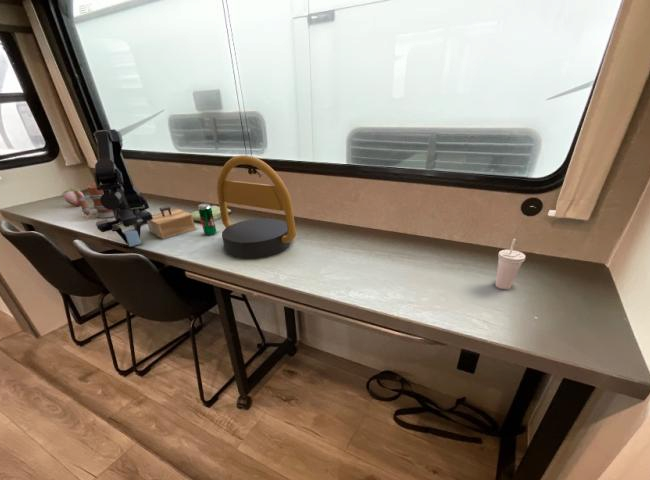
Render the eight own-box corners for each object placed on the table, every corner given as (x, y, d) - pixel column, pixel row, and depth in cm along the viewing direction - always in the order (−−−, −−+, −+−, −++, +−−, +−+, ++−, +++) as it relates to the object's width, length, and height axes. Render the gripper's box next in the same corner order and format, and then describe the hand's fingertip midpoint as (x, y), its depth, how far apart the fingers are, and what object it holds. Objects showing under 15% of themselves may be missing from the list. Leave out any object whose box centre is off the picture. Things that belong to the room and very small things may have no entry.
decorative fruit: (85, 202, 191) (78, 185, 185) (89, 205, 185) (81, 187, 180) (67, 206, 186) (58, 188, 180) (69, 209, 180) (61, 190, 175)
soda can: (213, 236, 136) (206, 207, 129) (202, 235, 137) (194, 206, 130) (218, 231, 140) (212, 203, 134) (208, 231, 141) (201, 203, 135)
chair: (246, 227, 142) (232, 148, 125) (314, 241, 126) (309, 151, 109) (201, 248, 125) (178, 159, 108) (274, 267, 109) (260, 166, 92)
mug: (132, 212, 170) (121, 182, 162) (91, 223, 158) (77, 191, 150) (121, 208, 178) (110, 179, 170) (81, 218, 166) (68, 187, 158)
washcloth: (233, 212, 161) (231, 206, 159) (205, 224, 149) (203, 217, 147) (214, 209, 167) (212, 203, 165) (186, 220, 155) (184, 213, 153)
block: (126, 244, 132) (121, 231, 129) (137, 240, 134) (133, 228, 131) (130, 246, 129) (125, 234, 126) (141, 243, 132) (137, 231, 129)
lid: (145, 218, 141) (141, 208, 139) (177, 209, 150) (175, 200, 147) (158, 225, 132) (154, 215, 130) (192, 216, 141) (189, 206, 138)
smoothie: (486, 281, 95) (497, 235, 87) (507, 279, 95) (521, 233, 88) (498, 292, 90) (511, 244, 82) (520, 290, 90) (536, 242, 82)
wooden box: (150, 231, 144) (145, 218, 141) (182, 222, 152) (178, 210, 149) (162, 239, 136) (158, 225, 132) (195, 229, 144) (192, 216, 141)
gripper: (96, 212, 112) (114, 254, 121) (151, 200, 123) (164, 239, 131) (88, 206, 119) (105, 246, 128) (140, 195, 130) (153, 232, 138)
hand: (133, 241), depth 131 cm, fingers closed on block, 4 cm apart
